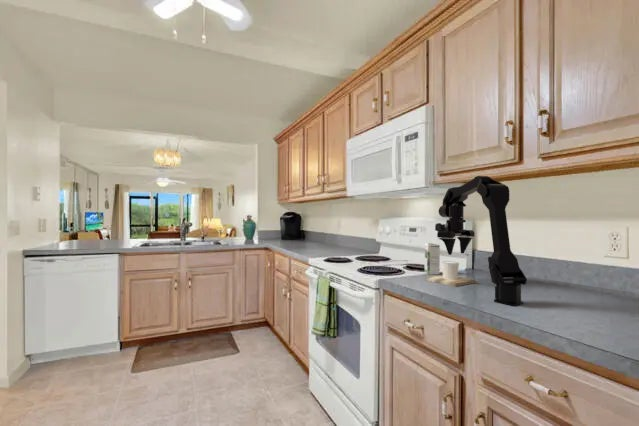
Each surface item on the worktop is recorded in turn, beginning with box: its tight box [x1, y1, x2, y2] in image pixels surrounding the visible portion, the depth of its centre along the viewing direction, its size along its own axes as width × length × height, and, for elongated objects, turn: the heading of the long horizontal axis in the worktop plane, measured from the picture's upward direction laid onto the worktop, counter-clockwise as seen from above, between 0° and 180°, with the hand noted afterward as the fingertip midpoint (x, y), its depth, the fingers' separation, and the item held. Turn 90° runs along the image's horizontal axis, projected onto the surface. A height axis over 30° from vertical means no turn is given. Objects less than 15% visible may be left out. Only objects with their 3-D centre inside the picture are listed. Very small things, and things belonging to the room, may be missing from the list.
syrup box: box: [424, 242, 441, 275], centre depth 153 cm, size 6×6×14 cm
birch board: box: [425, 274, 476, 288], centre depth 135 cm, size 14×14×1 cm
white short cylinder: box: [441, 260, 460, 280], centre depth 135 cm, size 7×7×7 cm
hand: (456, 254), depth 135 cm, fingers open, 9 cm apart
